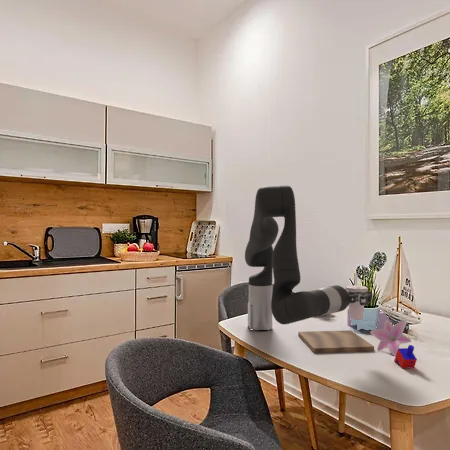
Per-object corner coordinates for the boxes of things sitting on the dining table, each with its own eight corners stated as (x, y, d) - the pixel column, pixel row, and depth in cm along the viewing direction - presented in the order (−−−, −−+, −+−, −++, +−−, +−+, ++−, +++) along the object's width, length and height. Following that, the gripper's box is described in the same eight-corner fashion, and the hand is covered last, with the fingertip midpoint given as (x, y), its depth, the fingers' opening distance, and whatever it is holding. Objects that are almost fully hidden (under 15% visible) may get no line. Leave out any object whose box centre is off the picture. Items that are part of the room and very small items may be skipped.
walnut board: (313, 352, 123) (314, 348, 123) (298, 335, 141) (298, 331, 140) (374, 351, 124) (374, 346, 124) (351, 334, 142) (351, 330, 142)
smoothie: (364, 315, 122) (364, 271, 122) (369, 321, 115) (370, 274, 115) (343, 315, 122) (343, 271, 122) (347, 320, 116) (348, 274, 116)
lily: (367, 347, 131) (363, 326, 128) (396, 332, 133) (393, 311, 129) (391, 370, 121) (387, 348, 117) (422, 354, 122) (419, 331, 118)
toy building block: (400, 372, 111) (407, 352, 107) (394, 361, 115) (400, 341, 111) (412, 372, 111) (419, 352, 107) (405, 360, 115) (412, 341, 111)
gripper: (351, 290, 104) (382, 284, 115) (308, 283, 115) (340, 278, 126) (351, 318, 104) (382, 309, 115) (308, 308, 115) (340, 301, 126)
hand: (360, 293), depth 120 cm, fingers closed on smoothie, 6 cm apart
